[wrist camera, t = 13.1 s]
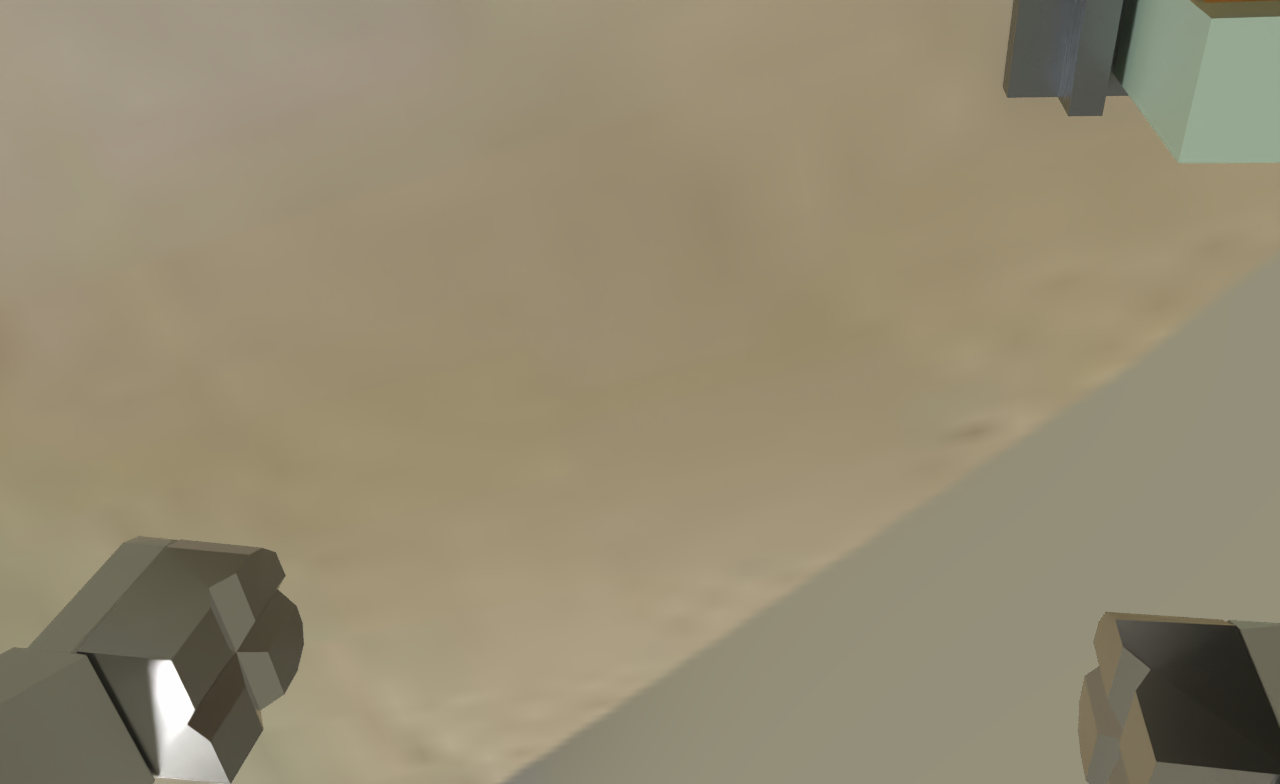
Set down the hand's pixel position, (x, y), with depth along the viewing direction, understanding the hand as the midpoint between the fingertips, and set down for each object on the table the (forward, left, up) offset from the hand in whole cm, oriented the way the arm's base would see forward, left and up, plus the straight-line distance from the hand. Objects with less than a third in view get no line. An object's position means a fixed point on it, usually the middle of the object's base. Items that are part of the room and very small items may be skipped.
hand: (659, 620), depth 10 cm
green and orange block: (+12, -1, -28) cm, 30 cm away
